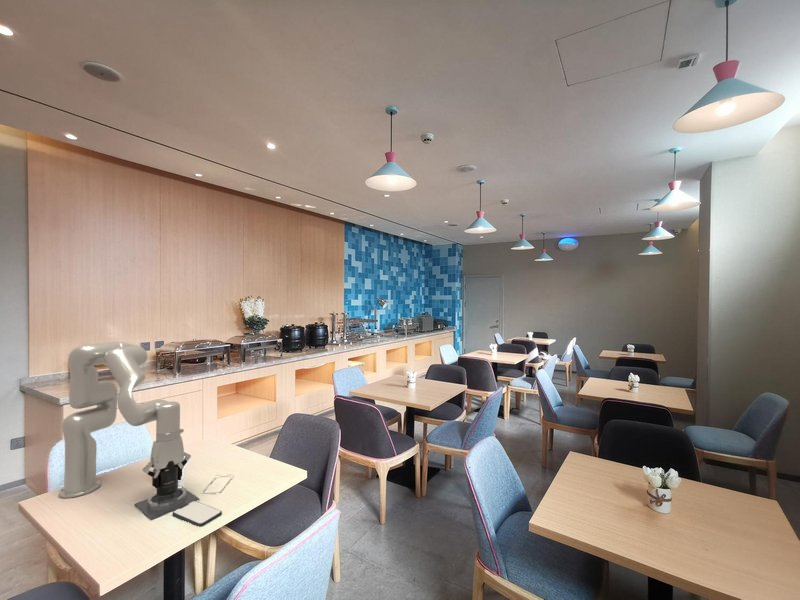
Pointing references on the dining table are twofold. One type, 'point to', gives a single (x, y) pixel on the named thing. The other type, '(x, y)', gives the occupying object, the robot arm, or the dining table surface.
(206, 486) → the phone case
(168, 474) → the supplement bottle
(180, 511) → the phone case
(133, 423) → the robot arm
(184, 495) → the ring collar
